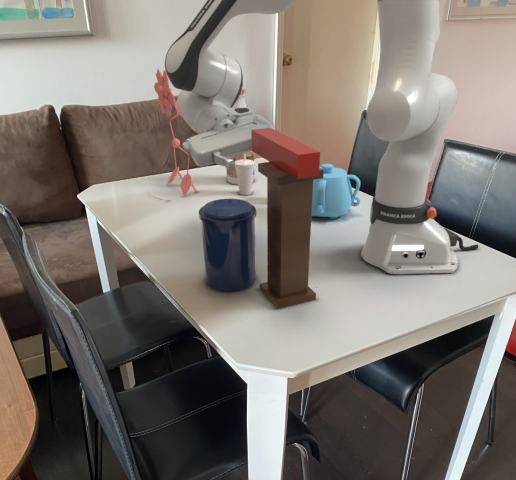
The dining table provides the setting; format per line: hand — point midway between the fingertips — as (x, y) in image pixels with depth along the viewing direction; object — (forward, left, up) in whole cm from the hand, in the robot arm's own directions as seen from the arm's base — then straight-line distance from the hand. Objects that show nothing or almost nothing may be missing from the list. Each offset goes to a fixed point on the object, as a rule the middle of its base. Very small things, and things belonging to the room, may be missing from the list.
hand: (249, 159), depth 110 cm
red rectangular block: (-9, +15, +4) cm, 18 cm away
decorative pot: (-15, -32, -23) cm, 42 cm away
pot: (+2, +13, -23) cm, 27 cm away
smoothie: (+11, -45, -23) cm, 52 cm away
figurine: (+35, -43, -23) cm, 60 cm away
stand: (-11, +17, -23) cm, 31 cm away
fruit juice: (+15, -57, -23) cm, 63 cm away
